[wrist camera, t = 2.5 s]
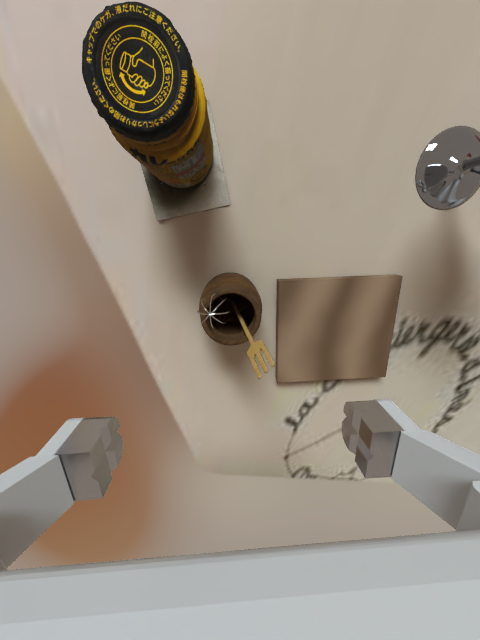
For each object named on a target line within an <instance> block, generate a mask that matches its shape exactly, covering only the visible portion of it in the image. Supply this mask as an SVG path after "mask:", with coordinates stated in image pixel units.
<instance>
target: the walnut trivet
mask: <svg viewBox="0 0 480 640" xmlns="http://www.w3.org/2000/svg"><path fill="white" fill-rule="evenodd" d="M401 282H402V276H400V275H372V276H347V277H322V278H297V279H277V316H276V380H277V383H280V382H298V381H317V380H336V379H354V378H373V377H385V376H386V370H387V365H388V359H389V353H390V347H391V341H392V335H393V329H394V323H395V318H396V312H397V306H398V300H399V294H400V288H401Z"/></svg>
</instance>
